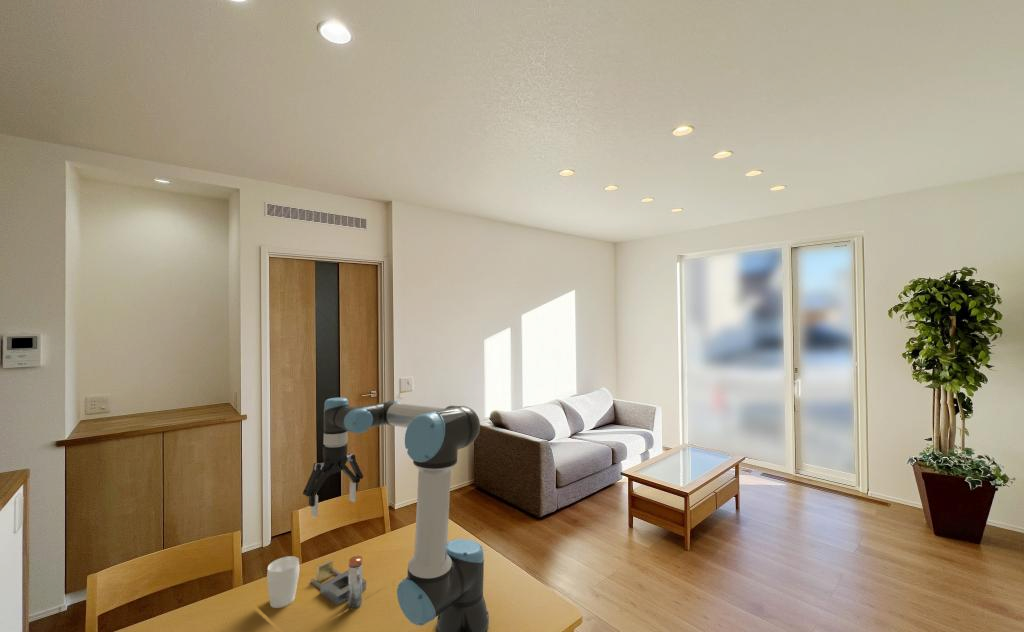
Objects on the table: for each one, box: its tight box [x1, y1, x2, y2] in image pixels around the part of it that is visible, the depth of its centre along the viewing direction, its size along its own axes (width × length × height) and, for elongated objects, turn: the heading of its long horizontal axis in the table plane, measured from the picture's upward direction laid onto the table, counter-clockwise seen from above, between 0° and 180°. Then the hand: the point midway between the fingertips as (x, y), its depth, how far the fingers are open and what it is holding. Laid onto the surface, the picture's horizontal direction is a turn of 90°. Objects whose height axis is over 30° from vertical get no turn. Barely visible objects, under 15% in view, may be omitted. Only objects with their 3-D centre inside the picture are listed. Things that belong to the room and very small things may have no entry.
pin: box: [347, 555, 363, 610], centre depth 128 cm, size 4×4×14 cm
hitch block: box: [310, 568, 367, 606], centre depth 136 cm, size 18×14×3 cm
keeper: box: [315, 559, 334, 583], centre depth 140 cm, size 2×5×5 cm, turn 144°
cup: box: [266, 555, 301, 609], centre depth 128 cm, size 9×9×12 cm
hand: (334, 508), depth 137 cm, fingers open, 13 cm apart
